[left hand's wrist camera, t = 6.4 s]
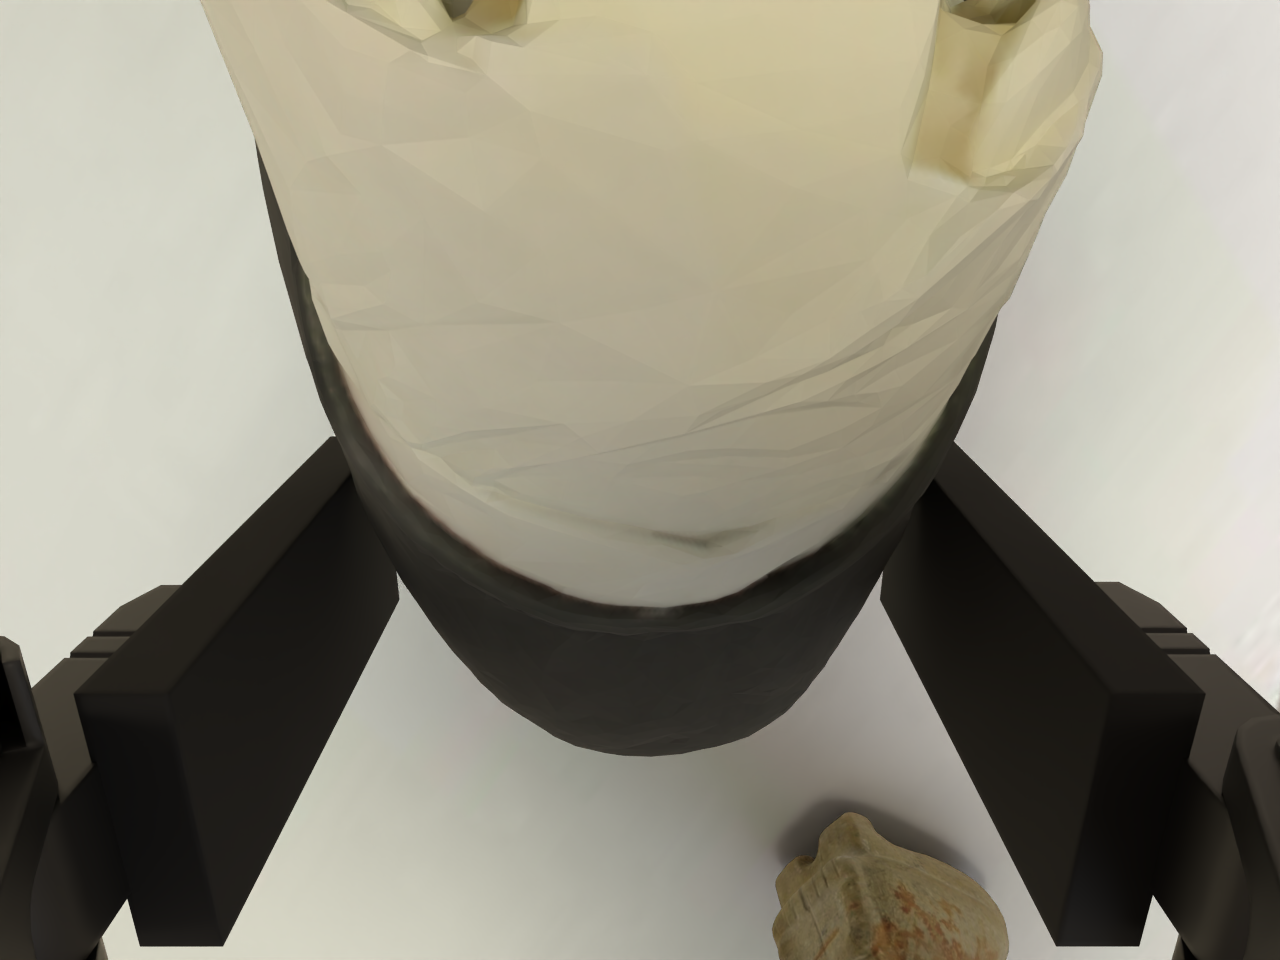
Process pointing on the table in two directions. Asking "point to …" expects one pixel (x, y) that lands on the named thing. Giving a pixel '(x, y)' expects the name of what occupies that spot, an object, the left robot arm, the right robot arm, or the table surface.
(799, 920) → the sculpture
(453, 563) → the dark grey shoe
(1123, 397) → the table surface
